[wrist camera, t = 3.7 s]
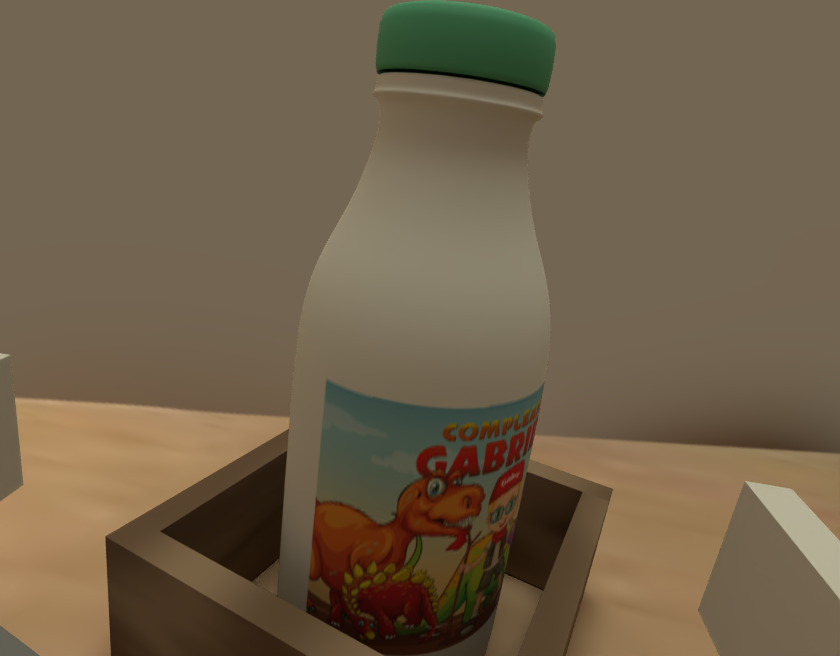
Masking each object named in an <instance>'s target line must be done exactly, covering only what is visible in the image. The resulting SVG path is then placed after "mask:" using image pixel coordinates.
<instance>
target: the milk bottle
mask: <svg viewBox="0 0 840 656" xmlns="http://www.w3.org/2000/svg"><path fill="white" fill-rule="evenodd" d="M555 49H556V43H555V35H554V33H553V32H552V31H551V29H550V28H549V27H547V26H546V25H544V24H543V23H541V22H539V21H537V20H535V19H532V18H530V17H527V16H525V15H522V14H519V13H516V12H512V11H509V10H505V9H500V8H496V7H491V6H485V5H480V4H473V3H466V2H457V1H441V0H423V1H411V2H404V3H399V4H396V5H393V6H391V7H390V8H388V9H387V10H386V11H385V12H384V14H383V16H382V19H381V22H380V27H379V34H378V41H377V54H376V69H377V73H378V74H379V75H378V77H377V83H376V88H375V90H374V91H373V95H374V96H375V97H376V98H377V100H378V101H379V104H380V117H379V124H378V130H377V135H376V138H375V142H374V145H373V148H372V151H371V154H370V157H369V159H368V162H367V165H366V167H365V170H364V172H363V175H362V177H361V179H360V182H359V184H358V186H357V189H356V190H355V192H354V194H353V196H352V199H351V200H350V203H349V204H348V206H347V208H346V210H345V212H344V213H343V215H342V217H341V219H340V221H339V223H338V224H337V226H336V227H335V229H334V231H333V233H332V234H331V236H330V238H329V240H328V242H327V244H326V245H325V247H324V250H323V251H322V253H321V255H320V257H319V259H318V262H317V264H316V267H315V269H314V271H313V274H312V277H311V279H310V283H309V286H308V289H307V292H306V295H305V300H304V304H303V309H302V314H301V319H300V323H299V332H298V340H297V350H296V358H295V367H294V376H293V386H292V399H291V411H290V424H289V436H288V449H287V461H286V474H285V489H284V503H283V517H282V531H281V546H280V561H279V576H278V591H277V597H279V598H281V599H283V600H284V601H286V602H288V603H290V604H292V605H293V606H295V607H297V608H299V609H301V610H302V611H304V612H306V613H308V614H310V615H312V616H313V617H315V618H317V619H319V620H321V621H322V622H324V623H326V624H328V625H330V626H331V627H333V628H335V629H337V630H339V631H340V632H342V633H344V634H346V635H348V636H349V637H351V638H353V639H355V640H357V641H358V642H360V643H362V644H364V645H366V646H367V647H369V648H371V649H373V650H375V651H376V652H378V653H380V654H382V655H384V656H485V653H486V649H487V646H488V642H489V638H490V634H491V631H492V627H493V623H494V618H495V614H496V609H497V605H498V601H499V596H500V592H501V587H502V583H503V578H504V574H505V569H506V565H507V560H508V556H509V551H510V547H511V542H512V538H513V533H514V529H515V524H516V519H517V515H518V510H519V506H520V501H521V497H522V492H523V487H524V482H525V478H526V473H527V468H528V463H529V459H530V454H531V449H532V444H533V440H534V435H535V430H536V425H537V421H538V416H539V410H540V404H541V399H542V393H543V387H544V382H545V376H546V370H547V365H548V355H549V343H550V305H549V296H548V288H547V283H546V277H545V273H544V268H543V265H542V260H541V255H540V251H539V247H538V243H537V239H536V234H535V230H534V224H533V218H532V213H531V205H530V196H529V184H528V166H527V164H528V146H529V139H530V135H531V131H532V128H533V126H534V124H535V123H536V122H537V121H539V120H541V119H542V118H543V114H542V105H543V98H542V97H544V96H545V94H546V92H547V90H548V87H549V83H550V78H551V74H552V69H553V63H554V56H555Z"/></svg>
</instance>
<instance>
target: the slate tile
mask: <svg viewBox="0 0 840 656" xmlns="http://www.w3.org/2000/svg"><path fill="white" fill-rule="evenodd" d="M0 656H39V655H38V654H37V653H35V652H34V651H33V650H31V649H30V648H29V647H28V646H26V645H25V644H24V643H22V642H21V641H20V640H18V639H17V638H16V637H14V636H13V635H12V634H11V633H9V632H8V631H7V630H5V629H4V628H3V627H1V626H0Z"/></svg>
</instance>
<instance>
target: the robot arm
mask: <svg viewBox="0 0 840 656" xmlns="http://www.w3.org/2000/svg"><path fill="white" fill-rule="evenodd" d="M22 485H23V476H22V466H21V456H20V446H19V436H18V426H17V416H16V406H15V396H14V386H13V376H12V367H11V356H10V355H7V354H1V353H0V501H1V500H3V499H4V498H5V497H7V496H8V495H10V494H11V493H12V492H14V491H15V490H17V489H18V488H19V487H21V486H22ZM698 611H699V613H700V615H701V617H702V619H703V621H704V624H705V626H706V628H707V630H708V632H709V634H710V636H711V638H712V640H713V643H714V645H715V647H716V649H717V651H718V653H719V655H720V656H840V541H839V540H838V539H837V538H836V537H835V536H834V534H833V533H832V532H831V531H830V530H829V529H828V528H827V527H826V526H825V525H824V524H823V523H822V521H821V520H820V519H819V518H818V517H817V516H816V515H815V514H814V513H813V512H812V511H811V510H810V508H809V507H808V506H807V505H806V504H805V503H804V502H803V501H802V500H801V499H800V498H799V497H798V495H797V494H796V493H795V492H794V491H793V490H792V489H788V488H783V487H777V486H771V485H765V484H759V483H753V482H748V481H745V482H744V485H743V488H742V490H741V493H740V496H739V499H738V501H737V504H736V507H735V510H734V512H733V515H732V518H731V521H730V523H729V526H728V529H727V532H726V534H725V537H724V540H723V543H722V546H721V548H720V551H719V554H718V557H717V559H716V562H715V565H714V568H713V570H712V573H711V576H710V579H709V581H708V584H707V587H706V590H705V592H704V595H703V598H702V601H701V603H700V606H699V609H698Z"/></svg>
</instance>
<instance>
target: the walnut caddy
mask: <svg viewBox="0 0 840 656" xmlns="http://www.w3.org/2000/svg"><path fill="white" fill-rule="evenodd" d="M288 436H289V429H288V430H286V431H285V432H283V433H281V434H280V435H278V436H276V437H274V438H273V439H271V440H269V441H268V442H266V443H264V444H262V445H261V446H259V447H257V448H256V449H254V450H252V451H251V452H249V453H247V454H245V455H244V456H242V457H240V458H239V459H237V460H235V461H233V462H232V463H230V464H228V465H227V466H225V467H223V468H222V469H220V470H218V471H216V472H215V473H213V474H211V475H210V476H208V477H206V478H204V479H203V480H201V481H199V482H198V483H196V484H194V485H192V486H191V487H189V488H187V489H186V490H184V491H182V492H181V493H179V494H177V495H175V496H174V497H172V498H170V499H169V500H167V501H165V502H163V503H162V504H160V505H158V506H157V507H155V508H153V509H152V510H150V511H148V512H146V513H145V514H143V515H141V516H140V517H138V518H136V519H134V520H133V521H131V522H129V523H128V524H126V525H124V526H123V527H121V528H119V529H117V530H116V531H114V532H112V533H111V534H109V535H107V536H105V537H106V558H107V579H108V600H109V621H110V641H111V656H384V655H382V654H380V653H378V652H376V651H375V650H373V649H371V648H369V647H367V646H366V645H364V644H362V643H360V642H358V641H357V640H355V639H353V638H351V637H349V636H348V635H346V634H344V633H342V632H340V631H339V630H337V629H335V628H333V627H331V626H330V625H328V624H326V623H324V622H322V621H321V620H319V619H317V618H315V617H313V616H312V615H310V614H308V613H306V612H304V611H302V610H301V609H299V608H297V607H295V606H293V605H292V604H290V603H288V602H286V601H284V600H283V599H281V598H279V597H277V596H275V595H274V594H272V593H270V592H268V591H266V590H265V589H263V588H261V587H259V586H257V585H256V584H254V583H252V582H251V581H252V580H254V579H255V578H256V577H257V576H258V575H259V574H260V573H262V572H263V571H264V570H265V569H266V568H267V567H268V566H270V565H271V564H272V563H273V562H274V561H275V560H276V559H278V558H279V557H280V546H281V531H282V517H283V503H284V489H285V474H286V461H287V449H288ZM612 491H613V489H611V488H609V487H606V486H603V485H600V484H597V483H594V482H592V481H589V480H586V479H583V478H580V477H578V476H575V475H572V474H569V473H566V472H564V471H561V470H558V469H555V468H552V467H549V466H547V465H544V464H541V463H538V462H535V461H533V460H530V459H529V463H528V468H527V473H526V478H525V482H524V487H523V492H522V497H521V501H520V506H519V510H518V515H517V519H516V524H515V529H514V533H513V538H512V542H511V547H510V551H509V556H508V560H507V565H506V569H505V573H507V574H510V575H512V576H514V577H516V578H519V579H521V580H523V581H525V582H528V583H530V584H532V585H534V586H537V587H539V588H541V589H543V590H544V591H543V593H542V596H541V598H540V601H539V603H538V606H537V609H536V611H535V614H534V616H533V619H532V621H531V624H530V626H529V629H528V631H527V634H526V636H525V639H524V641H523V644H522V646H521V649H520V651H519V654H518V656H565V655H566V651H567V648H568V645H569V641H570V638H571V634H572V631H573V628H574V624H575V621H576V618H577V614H578V611H579V607H580V604H581V601H582V597H583V594H584V591H585V587H586V583H587V580H588V576H589V573H590V569H591V566H592V562H593V558H594V555H595V551H596V548H597V544H598V541H599V537H600V533H601V530H602V526H603V523H604V519H605V516H606V512H607V508H608V505H609V501H610V498H611V494H612Z"/></svg>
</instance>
